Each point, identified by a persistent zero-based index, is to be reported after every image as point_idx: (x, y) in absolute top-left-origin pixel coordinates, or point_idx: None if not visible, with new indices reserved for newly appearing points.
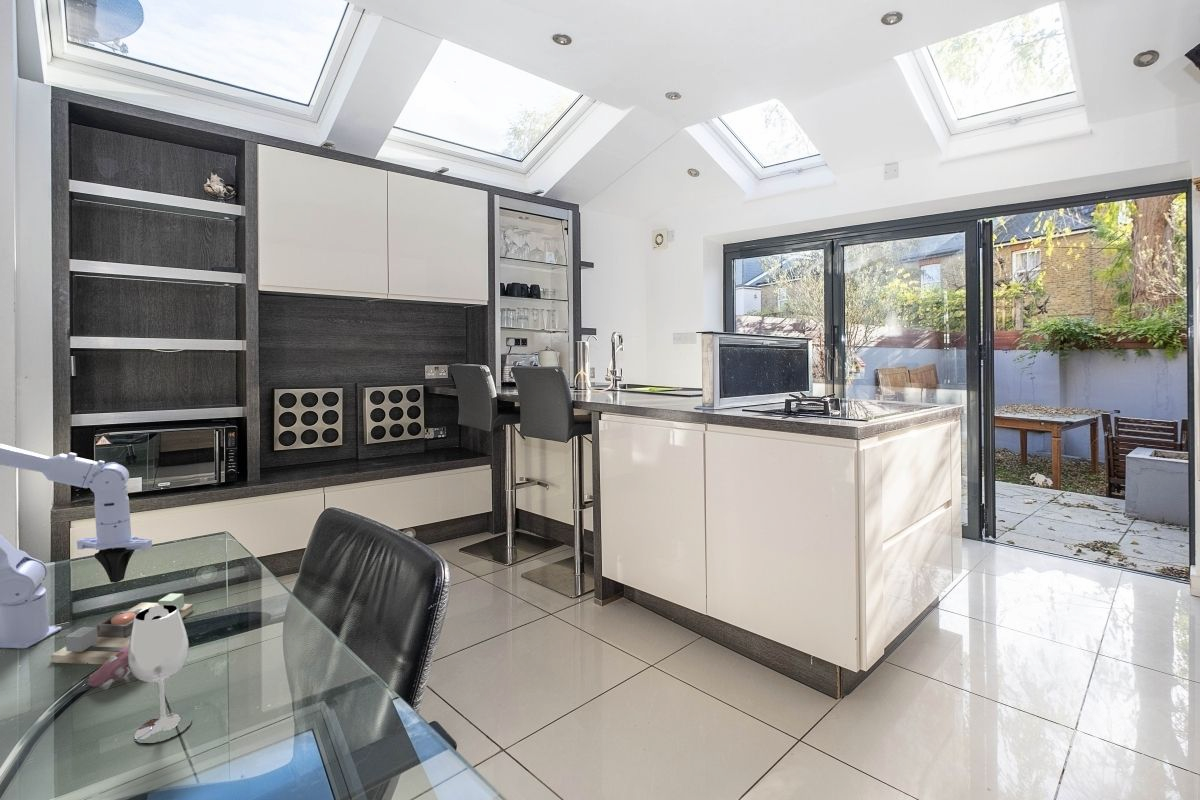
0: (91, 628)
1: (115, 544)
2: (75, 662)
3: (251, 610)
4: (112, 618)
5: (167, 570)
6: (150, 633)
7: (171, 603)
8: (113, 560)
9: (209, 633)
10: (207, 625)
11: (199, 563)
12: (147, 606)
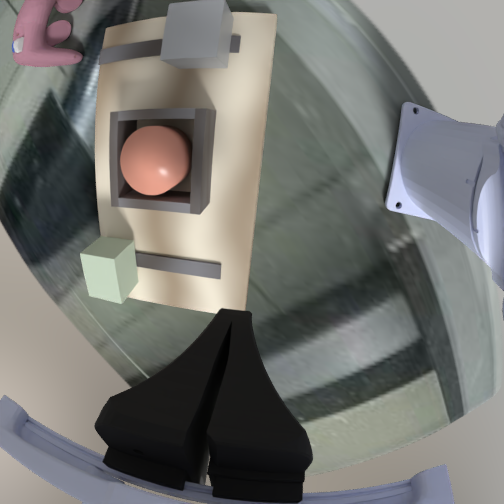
0: (174, 52)
1: (75, 496)
2: None
3: (33, 270)
4: (179, 150)
5: (305, 428)
6: None
7: (85, 250)
8: (157, 392)
9: (30, 181)
10: (49, 213)
11: None
12: (209, 294)
